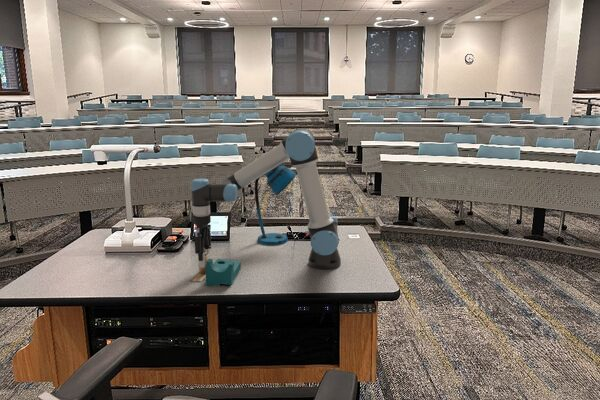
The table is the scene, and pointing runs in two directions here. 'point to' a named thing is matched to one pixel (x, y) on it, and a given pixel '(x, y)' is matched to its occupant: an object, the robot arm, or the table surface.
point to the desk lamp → (277, 182)
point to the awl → (201, 269)
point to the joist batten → (198, 277)
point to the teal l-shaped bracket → (221, 271)
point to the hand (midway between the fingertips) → (204, 264)
